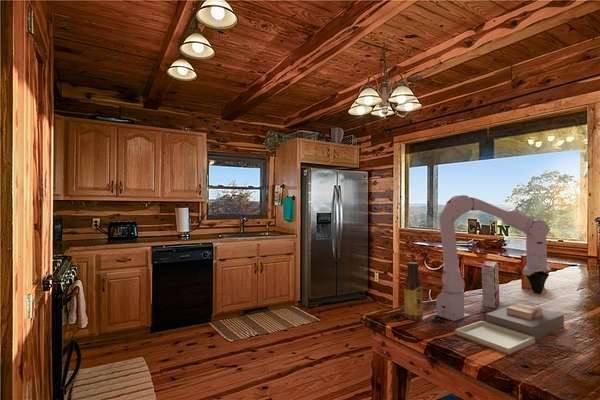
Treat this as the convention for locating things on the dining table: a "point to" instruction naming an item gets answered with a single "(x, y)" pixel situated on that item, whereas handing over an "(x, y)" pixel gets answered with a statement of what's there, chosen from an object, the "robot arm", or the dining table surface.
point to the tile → (524, 311)
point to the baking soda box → (524, 279)
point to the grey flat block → (527, 322)
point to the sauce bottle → (413, 293)
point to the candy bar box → (490, 284)
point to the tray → (495, 337)
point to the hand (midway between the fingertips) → (537, 293)
